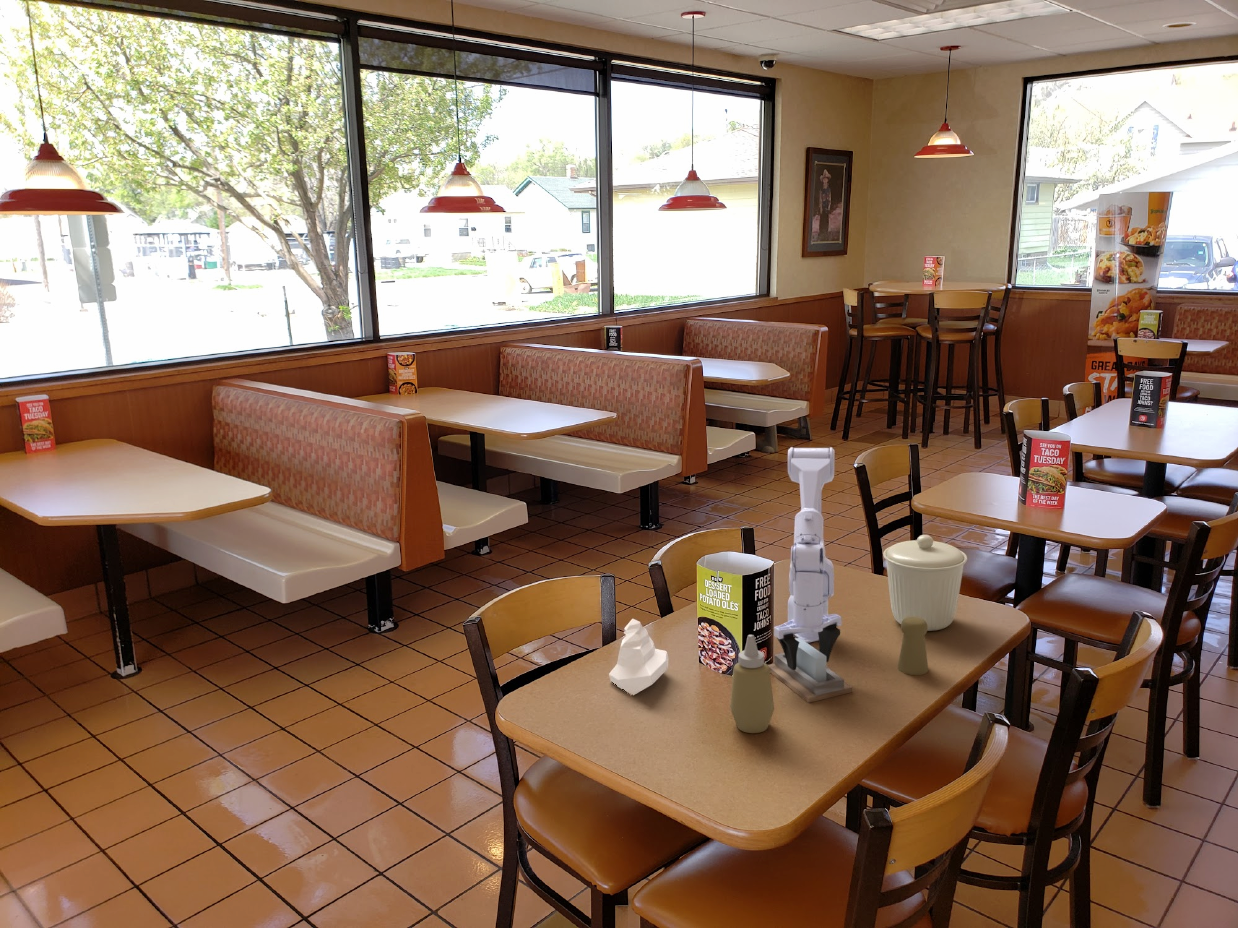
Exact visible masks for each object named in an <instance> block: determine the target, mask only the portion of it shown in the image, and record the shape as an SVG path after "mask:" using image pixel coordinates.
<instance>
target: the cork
mask: <svg viewBox="0 0 1238 928" xmlns="http://www.w3.org/2000/svg"><path fill="white" fill-rule="evenodd" d="M900 629H901V632H902V633H903V635H902V640H901V648H900V652H899V653H900V654H899V659H898V663H897V664H898V665H897V669H898V670H899V671H900V672H902V673H903V674H905V675H911V676H921V675H925V674H927V673H928V672H929V664H928V655H927V654H928V653H927V647H926V637H925V635H926V634H927V632H928V631H927V623H926V621H925V620H924V619H922V618H920V617H913V616H912V617H907V618H904V619H903V621H902V623H901V624H900Z"/></svg>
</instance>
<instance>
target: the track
mask: <svg viewBox="0 0 1238 928" xmlns="http://www.w3.org/2000/svg"><path fill="white" fill-rule="evenodd" d="M773 659H774V662H773V663H771V664H767V665H768V666H769V669H770V674H771V675H773V677H775V678H777V679H778V680H779V681H781V682H782V683H783V684H784V685H785V686H787V687H788V688H790V689H791V690H792V691H793V692H795V693H796V694H797V695H798V696H799V697H800V698H802V699H803V700H804V701H806V702H807V703H814V702H817V701H822V700H825V699H829V698H834V697H838V696H841V695H844V694H845V695H846V694H849V693H853V686H851V685H850V684H848V683H847V682H845V679H844V678H843V677H841V676H840V675H838V674H837V673H836V672H834V671H833V670H831V669H830V668H829V667H827V666H826V681H825V682H821V683H818V682H817V681H815V680H814V679H813V678H811V677H810V676H809V675H807V674H806V673H805V672H803V671H802V670H800V669H799V668H798V667H796V670H792V669H791V668H789V667H788V665H787V660H786V657H785V654H784V652H781V653H776V654H774V658H773Z"/></svg>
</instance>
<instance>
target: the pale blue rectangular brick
mask: <svg viewBox="0 0 1238 928" xmlns="http://www.w3.org/2000/svg"><path fill="white" fill-rule="evenodd" d="M795 639H796V640H797V641H798V642H799V645H798V649H797V666H796V667H798V668H799V669H800V670H802V671H803V672H805V673H806V674H807V675H809V676H810V677H811V678H813V679H814V680H815V681H817V682H818V683H821V682H825V681H826V667H827V662H826V656H825V655H824V654H822V653H821V652H819V649H816V648H815V647H813V646H812V645H810V644H809V643H806V642H805V641H803V640H802V639H800V638H798V637H795Z"/></svg>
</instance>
